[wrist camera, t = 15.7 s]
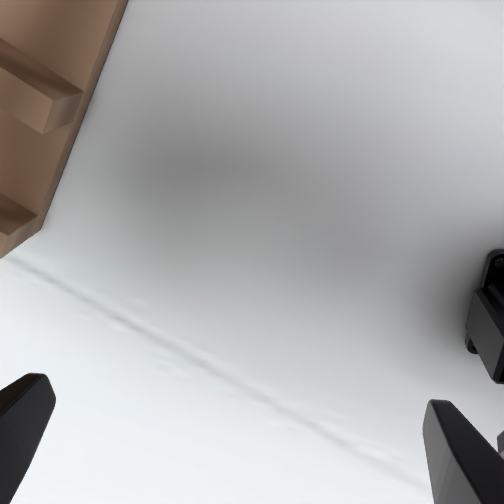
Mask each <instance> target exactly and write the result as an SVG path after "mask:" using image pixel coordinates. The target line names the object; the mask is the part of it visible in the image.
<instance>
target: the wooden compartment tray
mask: <svg viewBox="0 0 504 504" xmlns="http://www.w3.org/2000/svg"><path fill="white" fill-rule="evenodd" d="M127 2H128V0H0V259H1V258H2V257H4V256H5V255H6V254H8V253H9V252H10V251H12V250H13V249H14V248H16V247H17V246H19V245H20V244H21V243H23V242H24V241H25V240H27V239H28V238H29V237H31V236H33V235H34V234H35V233H37V232H38V231H39V230H41V227H42V224H43V222H44V219H45V217H46V214H47V211H48V209H49V206H50V203H51V201H52V198H53V196H54V193H55V190H56V188H57V185H58V183H59V180H60V177H61V175H62V172H63V170H64V167H65V164H66V162H67V159H68V156H69V154H70V151H71V149H72V146H73V143H74V141H75V138H76V136H77V133H78V130H79V128H80V125H81V122H82V120H83V117H84V115H85V112H86V109H87V107H88V104H89V102H90V99H91V96H92V94H93V91H94V89H95V86H96V83H97V81H98V78H99V75H100V73H101V70H102V68H103V65H104V62H105V60H106V57H107V55H108V52H109V49H110V47H111V44H112V42H113V39H114V36H115V34H116V31H117V28H118V26H119V23H120V21H121V18H122V15H123V13H124V10H125V8H126V5H127Z"/></svg>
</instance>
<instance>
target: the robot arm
mask: <svg viewBox="0 0 504 504" xmlns="http://www.w3.org/2000/svg"><path fill="white" fill-rule="evenodd" d="M500 258H503V260H502V261H501V262H499V263H495V262H496V260H498V259H500ZM465 327H466V330H467V332H468V333H467V337H466V340H465V345H466V347H467V350H468V351H469V352H470V353H473V354H479V356H480V358H481V360H482V362H483V364H484V365H485V367H486V369H487V371H488V373H489V375H490V377H491V379H492V380H493V381H494V382H495V383H496V384H504V250H497V251H494V252H492V253H490V254H489V255H488V257H487V260H486V264H485V268H484V271H483V275H482V279H481V283H480V287H478V288H477V289H476V290H475V291H474V294H473V298H472V302H471V306H470V310H469V314H468V318H467V322H466V326H465ZM473 345H474V346H473ZM55 403H56V396H55V393H54V391H53V388H52V386H51V384H50V381H49V379H48V377H47V375H45V374H42V373H28V374H26V375H24V376H23V377H21V378H19V379H18V380H16V381H15V382H13V383H11V384H10V385H8V386H7V387H5V388H3V389H2V390H0V504H10V502H11V500H12V498H13V496H14V495H15V493H16V491H17V489H18V487H19V485H20V483H21V481H22V480H23V478H24V476H25V474H26V472H27V470H28V468H29V466H30V464H31V461H32V459H33V457H34V455H35V452H36V450H37V448H38V445H39V443H40V440H41V438H42V436H43V433H44V431H45V429H46V426H47V424H48V421H49V419H50V417H51V414H52V412H53V410H54V407H55ZM423 438H424V444H425V450H426V456H427V462H428V468H429V475H430V481H431V487H432V493H433V499H434V504H504V431H503V432H502V433H501V434H499V435H498V436H497V444H498V452H497V451H496V450H495V449H494V448H493V447H492V446H491V445H490V444H489V443H488V441H487V440H486V439H485V438H484V437H483V436H482V435H481V434H480V433H479V432H478V431H477V430H476V428H475V427H474V426H473V425H472V424H471V423H470V422H469V421H468V420H467V419H466V418H465V417H464V415H463V414H462V413H461V412H460V411H459V410H458V409H457V408H456V407H455V406H454V405H453V404H452V403H451V402H450V401H447V400H435V399H432V400H429V402H428V404H427V409H426V413H425V418H424V422H423Z"/></svg>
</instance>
